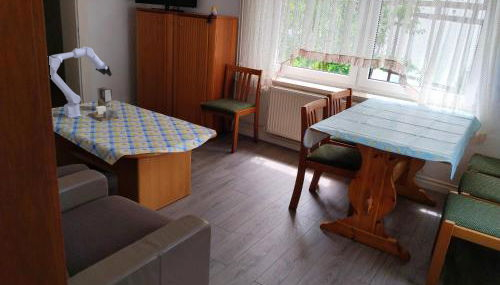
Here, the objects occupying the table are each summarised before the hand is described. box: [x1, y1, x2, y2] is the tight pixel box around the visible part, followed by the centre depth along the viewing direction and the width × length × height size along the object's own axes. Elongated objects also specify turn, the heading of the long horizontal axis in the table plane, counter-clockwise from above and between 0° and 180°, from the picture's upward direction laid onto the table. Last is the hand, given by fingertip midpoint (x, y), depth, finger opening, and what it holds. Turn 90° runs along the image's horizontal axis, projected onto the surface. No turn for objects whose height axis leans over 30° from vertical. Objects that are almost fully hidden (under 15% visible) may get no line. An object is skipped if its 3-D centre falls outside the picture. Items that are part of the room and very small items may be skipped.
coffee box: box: [96, 86, 113, 111], centre depth 294 cm, size 9×6×16 cm
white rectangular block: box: [93, 106, 106, 115], centre depth 277 cm, size 9×3×5 cm, turn 141°
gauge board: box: [87, 109, 120, 122], centre depth 277 cm, size 13×18×6 cm
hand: (107, 74), depth 286 cm, fingers open, 7 cm apart
